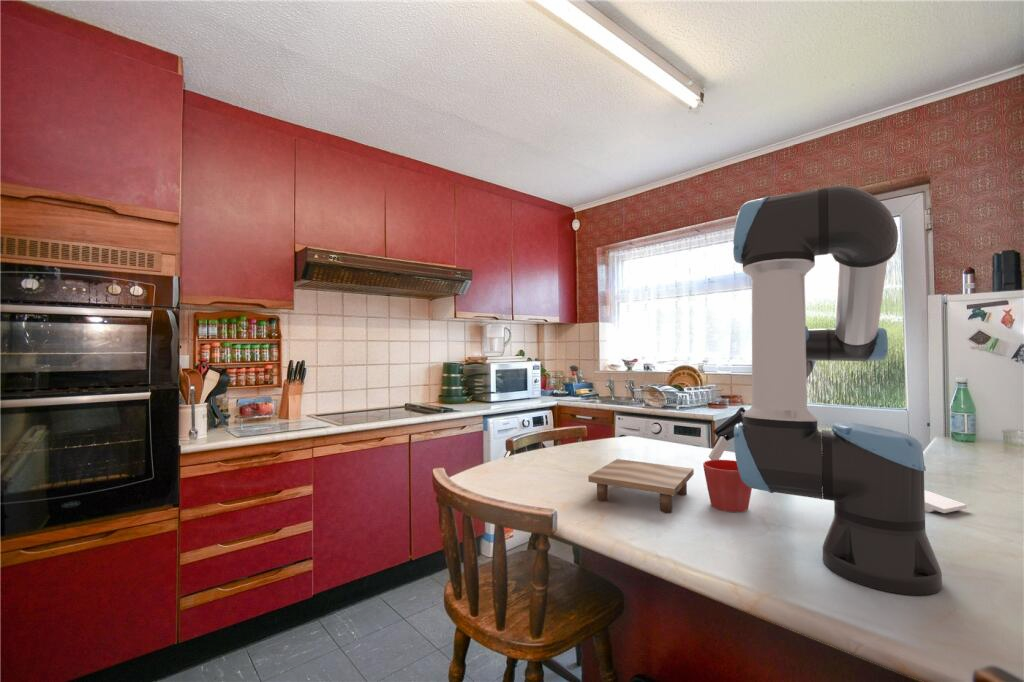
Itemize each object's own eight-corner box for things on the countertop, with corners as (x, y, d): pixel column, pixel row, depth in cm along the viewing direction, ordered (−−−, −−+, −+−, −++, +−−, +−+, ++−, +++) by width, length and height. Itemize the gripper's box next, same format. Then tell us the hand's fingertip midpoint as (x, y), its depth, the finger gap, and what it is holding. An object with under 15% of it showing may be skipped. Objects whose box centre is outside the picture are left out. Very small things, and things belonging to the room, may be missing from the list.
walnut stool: (674, 516, 100) (674, 488, 100) (588, 500, 111) (588, 475, 111) (693, 492, 117) (693, 468, 117) (617, 480, 128) (617, 458, 128)
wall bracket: (961, 536, 103) (835, 486, 129) (970, 505, 103) (843, 461, 129) (936, 532, 100) (812, 480, 126) (946, 499, 100) (819, 455, 126)
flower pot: (693, 502, 110) (692, 461, 110) (730, 497, 113) (730, 457, 113) (726, 517, 100) (725, 472, 100) (766, 512, 103) (766, 468, 103)
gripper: (835, 414, 106) (797, 490, 99) (738, 403, 128) (701, 464, 121) (821, 392, 104) (781, 468, 97) (725, 385, 126) (686, 446, 119)
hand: (736, 466), depth 109 cm, fingers open, 13 cm apart
